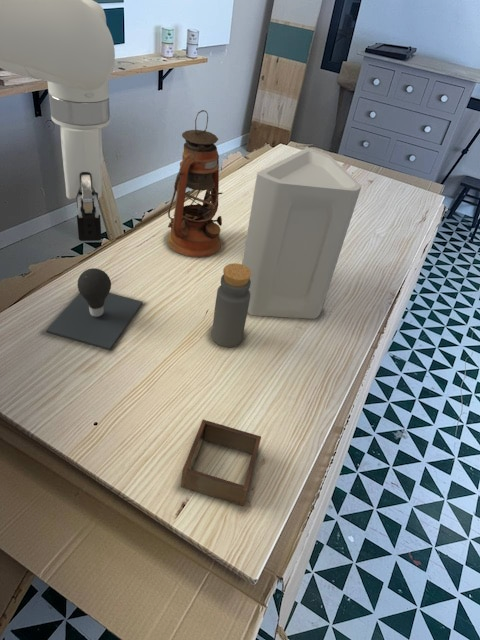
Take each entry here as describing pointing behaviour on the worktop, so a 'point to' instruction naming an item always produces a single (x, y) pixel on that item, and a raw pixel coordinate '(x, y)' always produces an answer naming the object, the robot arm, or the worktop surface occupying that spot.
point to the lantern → (196, 220)
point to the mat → (95, 321)
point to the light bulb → (94, 289)
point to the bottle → (231, 305)
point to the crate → (213, 484)
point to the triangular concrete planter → (297, 233)
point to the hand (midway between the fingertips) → (88, 223)
